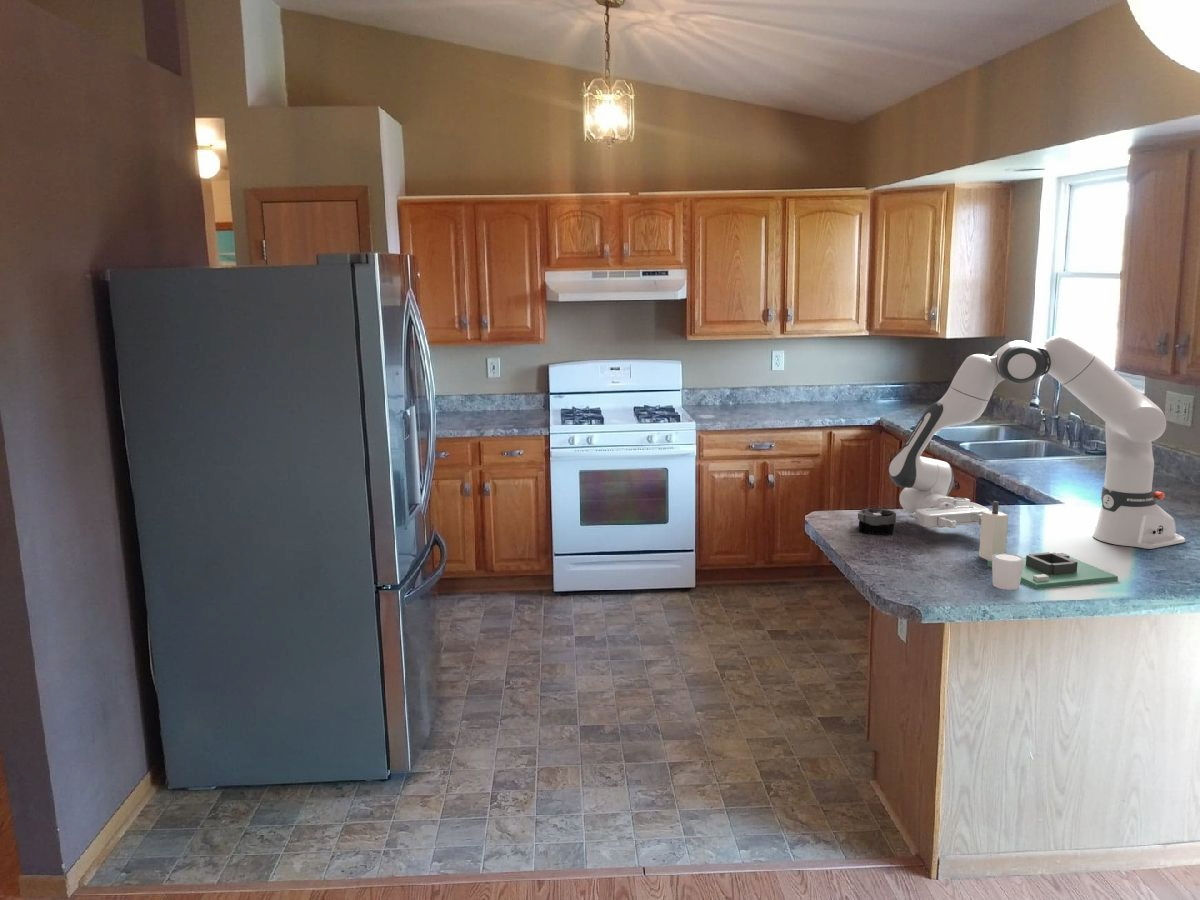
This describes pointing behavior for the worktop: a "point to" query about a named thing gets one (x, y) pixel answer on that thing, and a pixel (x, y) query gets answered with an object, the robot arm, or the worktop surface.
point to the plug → (993, 532)
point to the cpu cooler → (876, 521)
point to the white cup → (1007, 570)
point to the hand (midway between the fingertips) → (969, 523)
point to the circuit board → (1059, 571)
